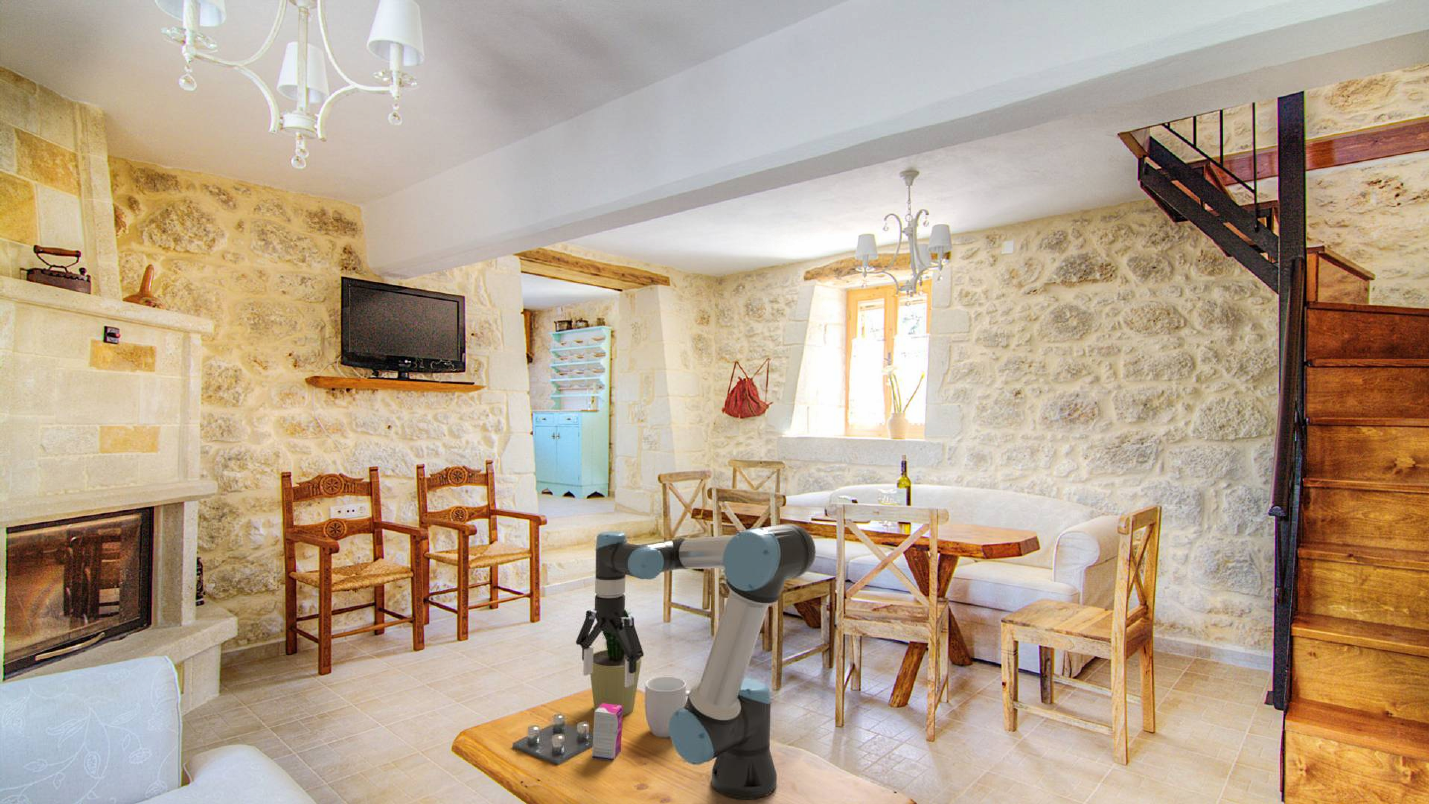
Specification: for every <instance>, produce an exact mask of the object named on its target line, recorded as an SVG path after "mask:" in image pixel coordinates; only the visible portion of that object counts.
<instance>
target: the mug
mask: <svg viewBox="0 0 1429 804" xmlns="http://www.w3.org/2000/svg"><path fill="white" fill-rule="evenodd" d="M644 685H645V687H644V688H645V689H644V690H645V691H644V709H645V710H644V713H645V718H646V722H647V725H648V728H649V730H650V731H651V733H652V734H653V735H654V736H656V737H658V738H662V739H663V738H671V737H670V732H669V722H670V718H671V716H672V714H673V713H674V712H676V711H677V710H678V709H680V708H684V706H685V705H686V702H687V697H688V696H689V692H690V690H687V682H686V681H685V680H684V679H682V678H680V677H675V676H669V675H667V676H665V675H664V676H655V677H652V678H650V679H648V680H647V681H645V684H644Z"/></svg>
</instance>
